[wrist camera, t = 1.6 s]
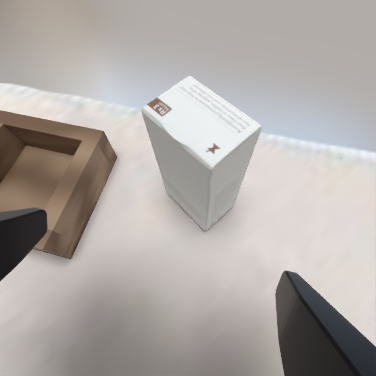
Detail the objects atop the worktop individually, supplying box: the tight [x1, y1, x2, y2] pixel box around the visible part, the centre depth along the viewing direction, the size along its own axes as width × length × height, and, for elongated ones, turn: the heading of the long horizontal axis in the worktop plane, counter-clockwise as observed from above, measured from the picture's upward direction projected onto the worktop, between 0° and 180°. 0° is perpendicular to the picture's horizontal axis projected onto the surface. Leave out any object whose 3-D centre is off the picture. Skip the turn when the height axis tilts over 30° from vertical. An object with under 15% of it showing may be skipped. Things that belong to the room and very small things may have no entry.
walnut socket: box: [0, 110, 117, 259], centre depth 22 cm, size 12×12×4 cm
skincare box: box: [141, 76, 262, 231], centre depth 18 cm, size 6×4×12 cm
